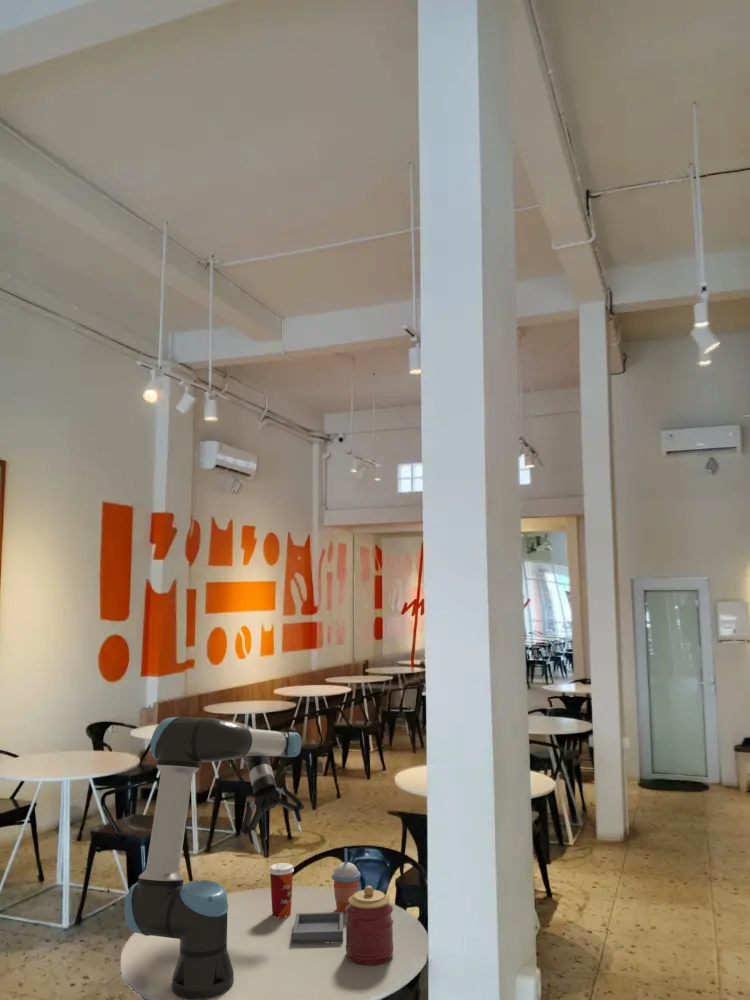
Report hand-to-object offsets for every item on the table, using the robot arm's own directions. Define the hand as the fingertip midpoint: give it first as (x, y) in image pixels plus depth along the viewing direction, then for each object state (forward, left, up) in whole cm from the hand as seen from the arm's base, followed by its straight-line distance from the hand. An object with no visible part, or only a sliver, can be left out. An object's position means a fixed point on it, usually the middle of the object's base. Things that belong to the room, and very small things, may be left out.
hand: (278, 841), depth 233 cm
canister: (+27, -23, -24) cm, 42 cm away
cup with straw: (+20, +9, -24) cm, 32 cm away
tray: (+12, -8, -23) cm, 27 cm away
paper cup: (0, +7, -24) cm, 24 cm away
